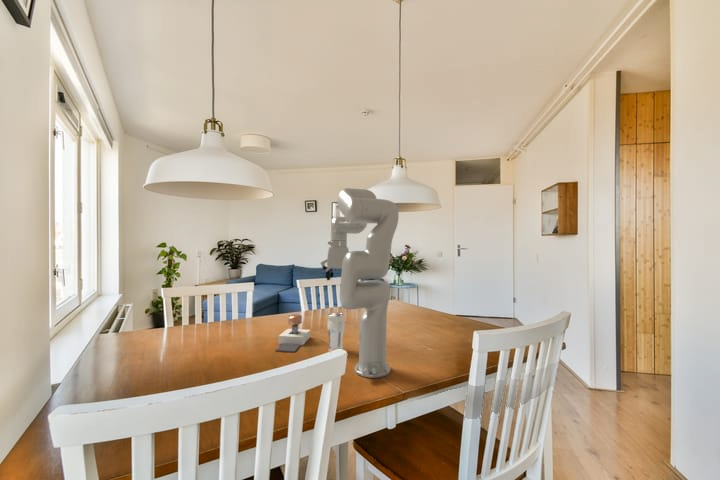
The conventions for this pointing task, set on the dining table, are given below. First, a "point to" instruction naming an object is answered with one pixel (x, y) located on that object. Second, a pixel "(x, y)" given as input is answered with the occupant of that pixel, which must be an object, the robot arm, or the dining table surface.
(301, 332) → the eye block
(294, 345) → the rubber mat
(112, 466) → the dining table surface
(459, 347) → the dining table surface
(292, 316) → the copper topped tamper
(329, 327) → the beer glass
